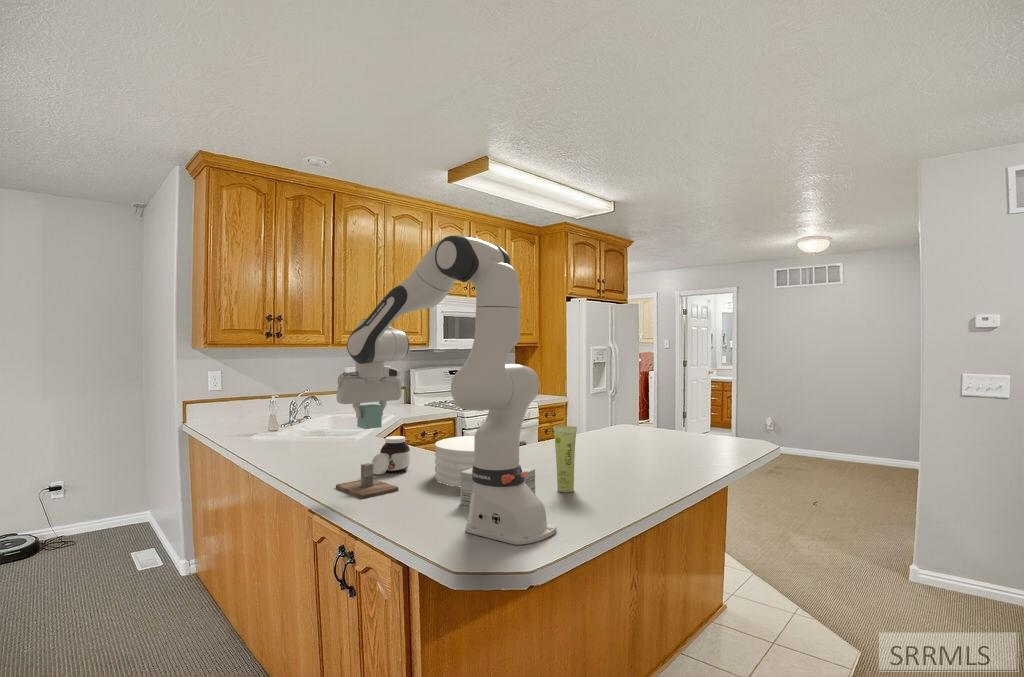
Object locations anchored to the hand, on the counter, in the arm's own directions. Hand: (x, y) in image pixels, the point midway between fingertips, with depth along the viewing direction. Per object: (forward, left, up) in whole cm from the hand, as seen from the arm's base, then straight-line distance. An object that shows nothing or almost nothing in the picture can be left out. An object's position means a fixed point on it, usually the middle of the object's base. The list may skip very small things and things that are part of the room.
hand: (369, 416), depth 158 cm
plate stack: (-11, -34, -22) cm, 42 cm away
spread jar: (+15, -17, -22) cm, 31 cm away
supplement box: (-37, -19, -22) cm, 47 cm away
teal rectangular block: (0, 0, -3) cm, 3 cm away
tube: (-42, -42, -22) cm, 63 cm away
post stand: (+1, 0, -22) cm, 22 cm away
